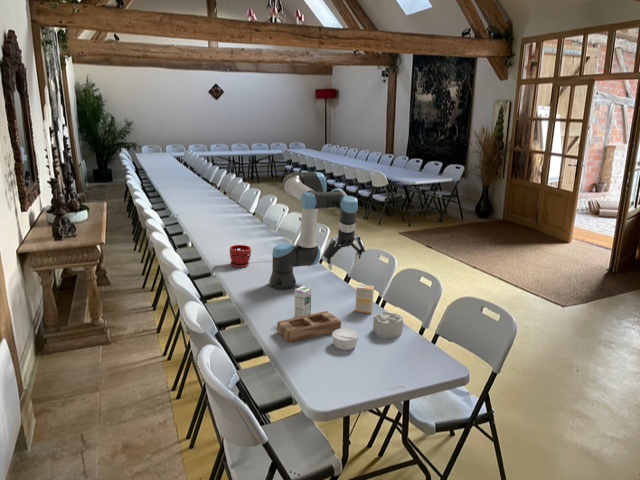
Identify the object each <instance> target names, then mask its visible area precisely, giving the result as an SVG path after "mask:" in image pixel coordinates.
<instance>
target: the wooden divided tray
mask: <svg viewBox="0 0 640 480" xmlns="http://www.w3.org/2000/svg"><path fill="white" fill-rule="evenodd" d="M341 328H342V321H341V319H339V318H338V317H336V316H335V315H333V314H332V313H331V312H330V311H328V310H326V311H320V312H316V313H311V315H306V316H302V317H297V318H296V317H293V318H290V319H289V318H288V319H284V320H280V321H277V331H276V333H277V334H279V335H280V336H281V337H282V338H283V339H284V340H286V341H287V342H288V343H289V344H294V343H297V342H302V341H306V340H309V339H314V338H318V337H321V336H325V335H328V334H332V333H333V332H334V331H335V330H337V329H341Z"/></svg>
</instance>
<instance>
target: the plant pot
mask: <svg viewBox="0 0 640 480" xmlns="http://www.w3.org/2000/svg"><path fill="white" fill-rule="evenodd" d="M251 254H252V248H251V247H250V246H249V245H245V244H234V245H231V246H229V258H230V265H231V266H232V267H235V268H240V269H241V268H247V267H248V266H249V264H250V262H249V261H250V259H251Z"/></svg>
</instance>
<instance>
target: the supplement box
mask: <svg viewBox="0 0 640 480" xmlns="http://www.w3.org/2000/svg"><path fill="white" fill-rule="evenodd" d="M374 289H375V286H373V285H366V284H357V285H356V291H355V295H356V296H355V312H356V313H364V314H369V315H370V314H372V312H373V307H374V291H375V290H374Z"/></svg>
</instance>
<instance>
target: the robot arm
mask: <svg viewBox="0 0 640 480" xmlns="http://www.w3.org/2000/svg"><path fill="white" fill-rule="evenodd" d="M281 185H282V189H283V191H284V193H286V194H287V195H289V196H291V197H294V198H295V199H297V200H299V202H300V205H301V207H302V208H301V219H300V231H299V232H300V233H299V235H300V236H299V239H298V240H297V241H296V245H294V244H292V243H290V242H289V243H288V242H287V243H279V244H277V245H275V246H273V249H272V254H271V255H272V256H271V257H272V265H271V266H272V271H271V275H270V277H269V281H268V286H269V287H270V288H272V289H275V290H280V291H281V290H290V289H291V290H292V289H293V288H295V287H296V286H297V280H296V277H295V274H294V268H295V267H296V268H298V267H311V266H317V264H319V262H320V260H321V253H322V252H321V247H320V246H319V245H318V242H317V241H316V235H317V234H316V233H317V222H318V214H319V213H318V210H323V209H324V210H326V209H336V210H337V212H339V221H338V223H339V224H338V232H337V238H334V237H333V238H330V239H331V240H330V243H329V245H328V246H327V247H326V250H325V251H324V253H323V257H324V258H325V259H326V263H327V265H328V266H327V267H328V270H329V271H332V270H333V257H334V256H335V254H336V253H337V252H338V251H339V250H341V249H342V248H348V247H350V246H351V247H352V248H353V249H354V250H355V254H354V264H355V266H359V260H360V259H361V255H363V253H365V252H366V250H365V248H364V247H365V246H364V245H363V243H362V240H361V237H360V235H359V234H356V235H355V233H356V224H357V215H358V208H359V205H358V203H359V202H358V198H357V197H354V196H353V195H352V196H351V195H347V193H346V192H345V191H344V190H343V189H341V188H339V187H338V188H336V187H335V188H334V189H331V191H327V189H328V188H327V185H328V184H327V180H326V177H325V175H324V174H323V173H322V172H318V171H305V172H303V171H299V172H298V171H296V172H294V171H293V172H291V173H289V174H287V175H286V176H285V177H284V179H283V180H282V183H281ZM354 241H356V242H357V244H358V246H357V245H355V243H354Z"/></svg>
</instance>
